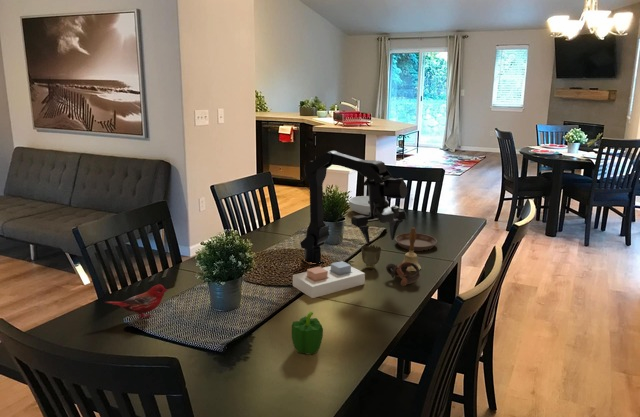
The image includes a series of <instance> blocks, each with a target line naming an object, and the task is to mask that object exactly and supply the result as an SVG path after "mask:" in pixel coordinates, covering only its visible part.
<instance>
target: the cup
mask: <svg viewBox="0 0 640 417" xmlns="http://www.w3.org/2000/svg"><path fill="white" fill-rule="evenodd" d="M360 251H361V259H362V262H363V263H364V264H365V268H366V269H370V270H371V269H373V270H374V269H375V267H376V265H377V264H378V263H379V261H380V258H381V254H382V253H381V252H382V248H381V246H378V245H375V244H373V245H372V244H367V245H365V244H364V245H363V246H361V250H360Z"/></svg>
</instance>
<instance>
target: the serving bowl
mask: <svg viewBox="0 0 640 417" xmlns="http://www.w3.org/2000/svg"><path fill="white" fill-rule="evenodd" d="M349 199H350V200H349ZM349 199H348V204H349V206H350V207H349V208H350V209H351V210H352V211H353V212H354V213H357V214H359V215H363V216H370V215H369V212H370V204H368V201H369V195H361V196H360V195H359V196H353V197H350V198H349ZM386 201H388V199H386Z"/></svg>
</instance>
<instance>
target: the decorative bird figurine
mask: <svg viewBox="0 0 640 417" xmlns="http://www.w3.org/2000/svg"><path fill="white" fill-rule="evenodd" d="M166 292H169V290H168V289H167V288H165V287H164V285H162V284H160V283H159V284H156V285H154V286H152V287H150V288H149V289H148V290H147V291H145V292H143V293H141V294H137V295H135V296H132V297H129V298H128V299H125V300H123V301H104V303H105V304H109V305H114V306H117V307H121V308H122V309H124V310H126V311H128V312H132V313H136V314H138V315H137V316H136V318H149V317H152V316H154V314H145V313H149V312H151V311H154V310H155V309H156V308H157V307H158V306H159V305H160V304H161V302H162V299H163V297H164V295H165V293H166Z"/></svg>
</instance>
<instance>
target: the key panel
mask: <svg viewBox="0 0 640 417" xmlns="http://www.w3.org/2000/svg"><path fill="white" fill-rule="evenodd" d="M322 268H323V269H325V270H327V271H328V277H327V279H324V280H320V281H316V282H314V281H313V280H311V279H309V278H307V271H303V272H301V273H296V274H292V287H294V288H296V289H297V290H299V291H300V292H302V293H303V294H304V295H306V296H307V297H309V298H311V299H315V298H318V297H322V296H325V295H326V296H327V295H329V294H334V293H337V292H340V291H344V290H348V289H352V288H355V287H360V286H362V285H365V282H366V273H365V272H363V271H361V270H359V269H357V268H355V267H353V266H351V273H348V274H344V275H340V276H339V275H337V274H335V273H333V272H331V265H328V266H325V267H322Z"/></svg>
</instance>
